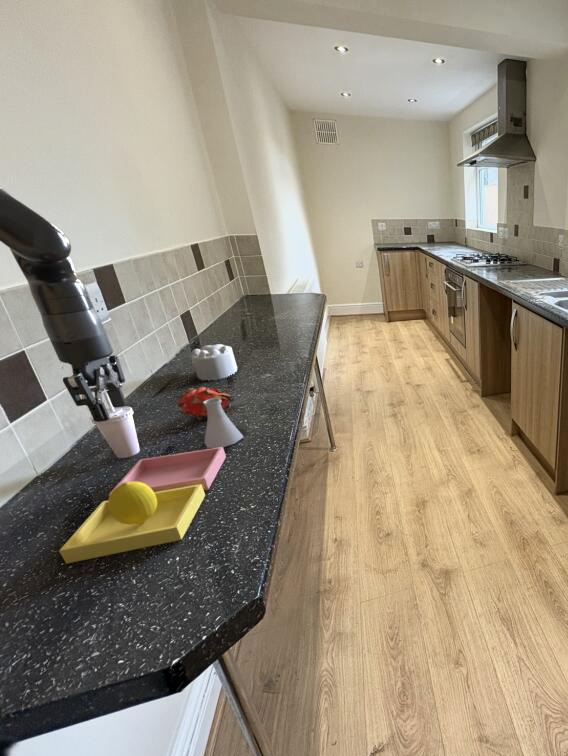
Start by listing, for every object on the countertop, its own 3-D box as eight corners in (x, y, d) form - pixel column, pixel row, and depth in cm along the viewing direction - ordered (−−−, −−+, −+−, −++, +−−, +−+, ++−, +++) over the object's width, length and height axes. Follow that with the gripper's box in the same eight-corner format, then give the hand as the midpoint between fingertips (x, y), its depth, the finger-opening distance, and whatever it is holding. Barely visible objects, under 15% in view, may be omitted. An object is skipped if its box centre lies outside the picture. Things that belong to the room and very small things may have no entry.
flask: (197, 445, 90) (183, 404, 87) (230, 430, 96) (218, 391, 93) (218, 452, 87) (204, 410, 84) (250, 437, 94) (239, 397, 90)
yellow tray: (66, 563, 60) (58, 550, 59) (108, 513, 70) (102, 501, 69) (181, 539, 64) (176, 527, 63) (205, 495, 74) (201, 483, 73)
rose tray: (113, 506, 71) (108, 494, 70) (143, 470, 82) (139, 459, 81) (208, 489, 76) (204, 478, 75) (226, 456, 86) (222, 446, 85)
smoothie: (153, 443, 91) (130, 385, 86) (139, 458, 85) (114, 397, 80) (118, 448, 89) (92, 389, 84) (101, 464, 84) (73, 402, 78)
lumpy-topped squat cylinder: (238, 364, 139) (231, 340, 135) (234, 377, 128) (226, 351, 125) (201, 369, 134) (193, 344, 131) (194, 383, 124) (185, 356, 120)
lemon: (140, 511, 69) (123, 472, 66) (172, 512, 69) (156, 472, 66) (109, 535, 64) (89, 493, 61) (144, 535, 64) (125, 494, 61)
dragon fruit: (181, 423, 103) (237, 422, 107) (166, 417, 95) (227, 417, 99) (185, 391, 105) (239, 391, 109) (171, 382, 97) (230, 383, 101)
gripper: (75, 326, 82) (107, 401, 89) (25, 346, 70) (66, 432, 76) (121, 323, 85) (149, 397, 91) (80, 342, 72) (116, 426, 79)
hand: (111, 412), depth 84 cm, fingers closed on smoothie, 6 cm apart
